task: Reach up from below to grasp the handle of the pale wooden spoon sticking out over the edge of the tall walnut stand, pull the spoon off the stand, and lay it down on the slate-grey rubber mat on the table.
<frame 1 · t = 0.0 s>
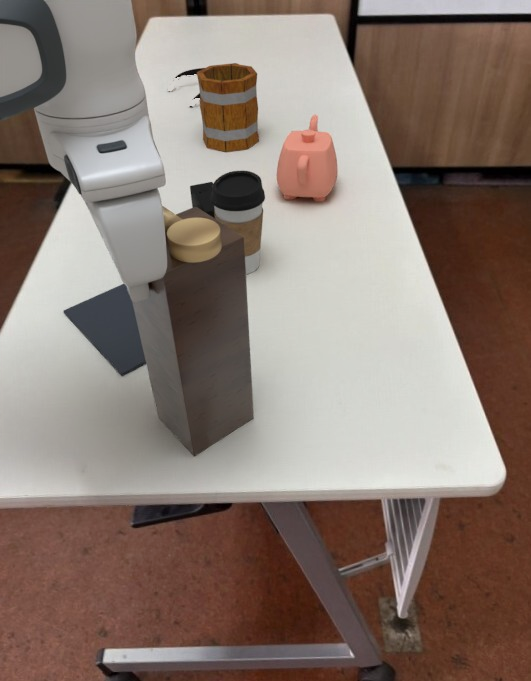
hand: (127, 271, 57), 22 cm above the table, tool pointing down, fingers open, 8 cm apart
digital camera: (209, 232, 105), on the table
stand: (205, 417, 71), on the table
spoon: (194, 239, 52), point 27 cm above the table, touching stand
teapot: (307, 189, 116), on the table
glasses: (207, 94, 159), on the table
wooden barrel: (233, 135, 137), on the table
coffee cup: (241, 265, 96), on the table
mat: (127, 324, 85), on the table
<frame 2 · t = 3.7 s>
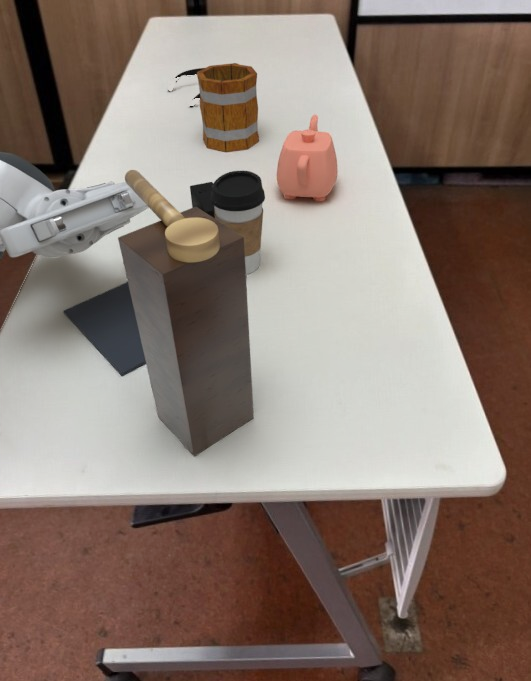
hand: (94, 211, 69), 20 cm above the table, tool pointing upward, fingers open, 8 cm apart
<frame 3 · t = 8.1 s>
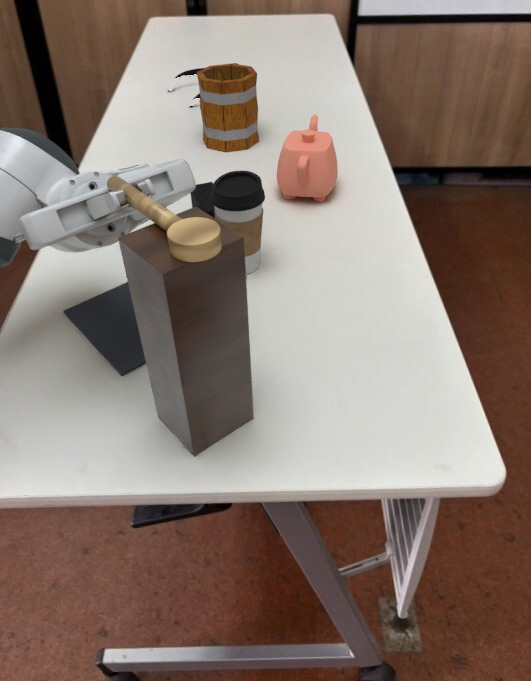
hand: (133, 193, 58), 27 cm above the table, tool pointing upward, fingers closed on spoon, 2 cm apart
spoon: (194, 239, 52), point 27 cm above the table, touching gripper
everything else where it was.
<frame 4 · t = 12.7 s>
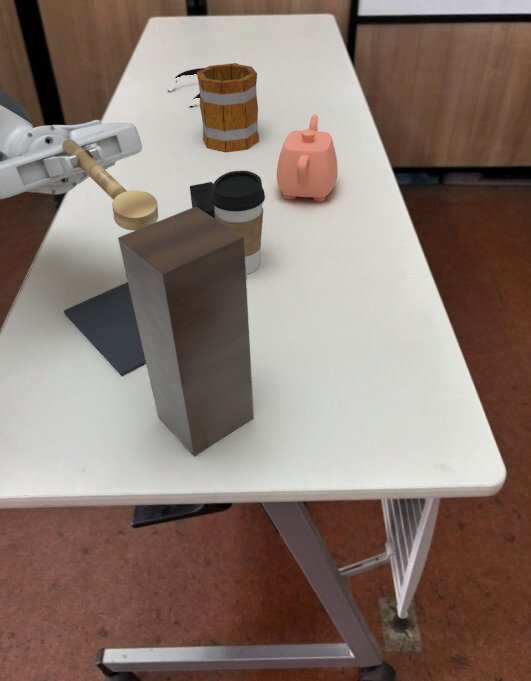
hand: (85, 159, 67), 26 cm above the table, tool pointing upward, fingers closed on spoon, 2 cm apart
spoon: (135, 210, 63), point 24 cm above the table, tilted 11°, touching gripper
everything else where it was.
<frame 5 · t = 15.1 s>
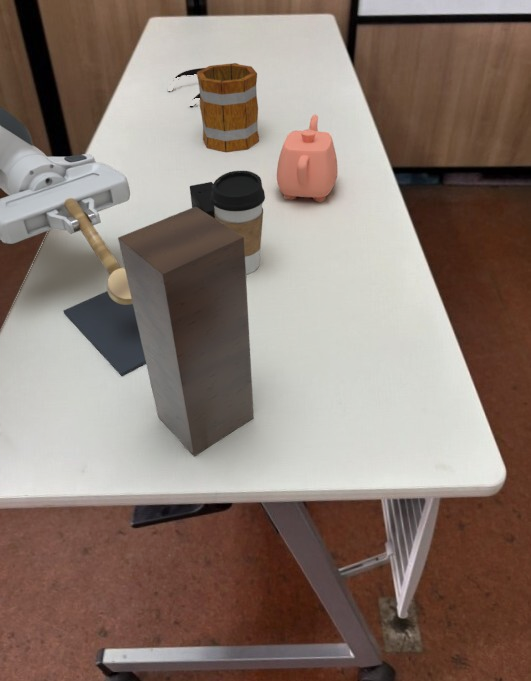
hand: (85, 223, 79), 14 cm above the table, tool horizontal, fingers closed on spoon, 2 cm apart
spoon: (125, 286, 78), point 8 cm above the table, tilted 30°, touching gripper
everything else where it was.
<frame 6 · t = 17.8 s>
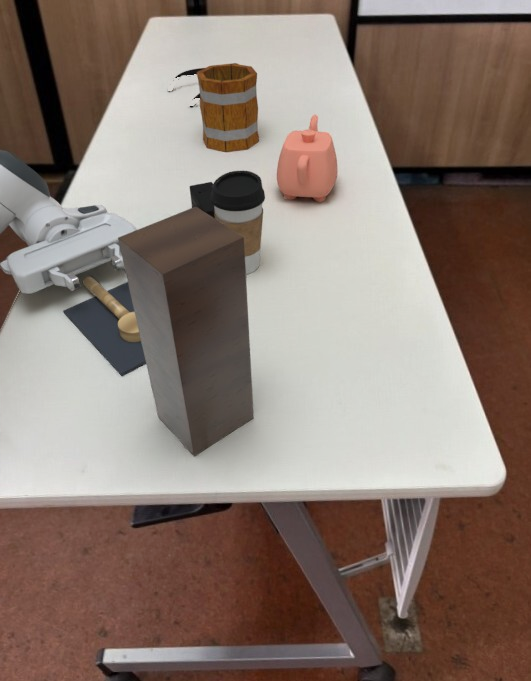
hand: (98, 275, 85), 6 cm above the table, tool horizontal, fingers open, 6 cm apart
spoon: (135, 326, 82), point 1 cm above the table, touching mat
everything else where it was.
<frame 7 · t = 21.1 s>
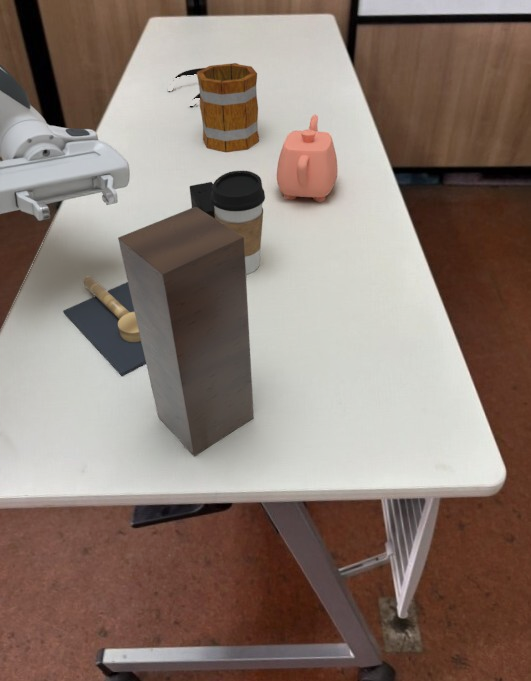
hand: (79, 207, 76), 18 cm above the table, tool horizontal, fingers open, 8 cm apart
nothing on the table moved.
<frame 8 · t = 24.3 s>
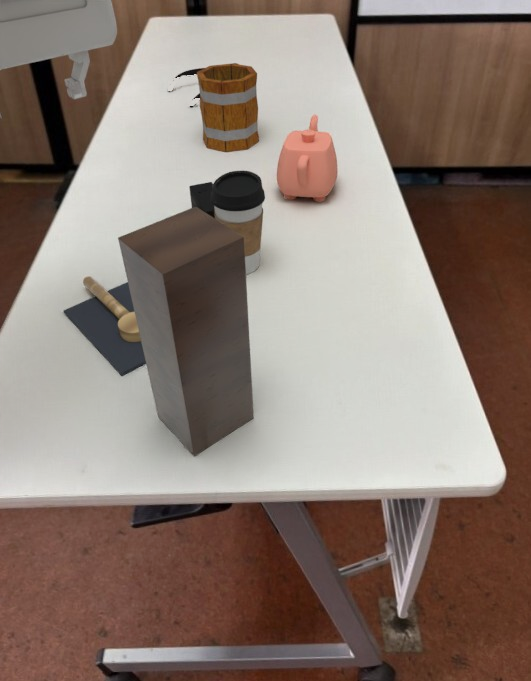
hand: (36, 107, 60), 33 cm above the table, tool pointing down, fingers open, 8 cm apart
nothing on the table moved.
at the end: spoon inside the target area on the mat (1.2 cm from its centre), point 1.4 cm above the mat's base; spoon touching mat; the gripper is holding nothing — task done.
